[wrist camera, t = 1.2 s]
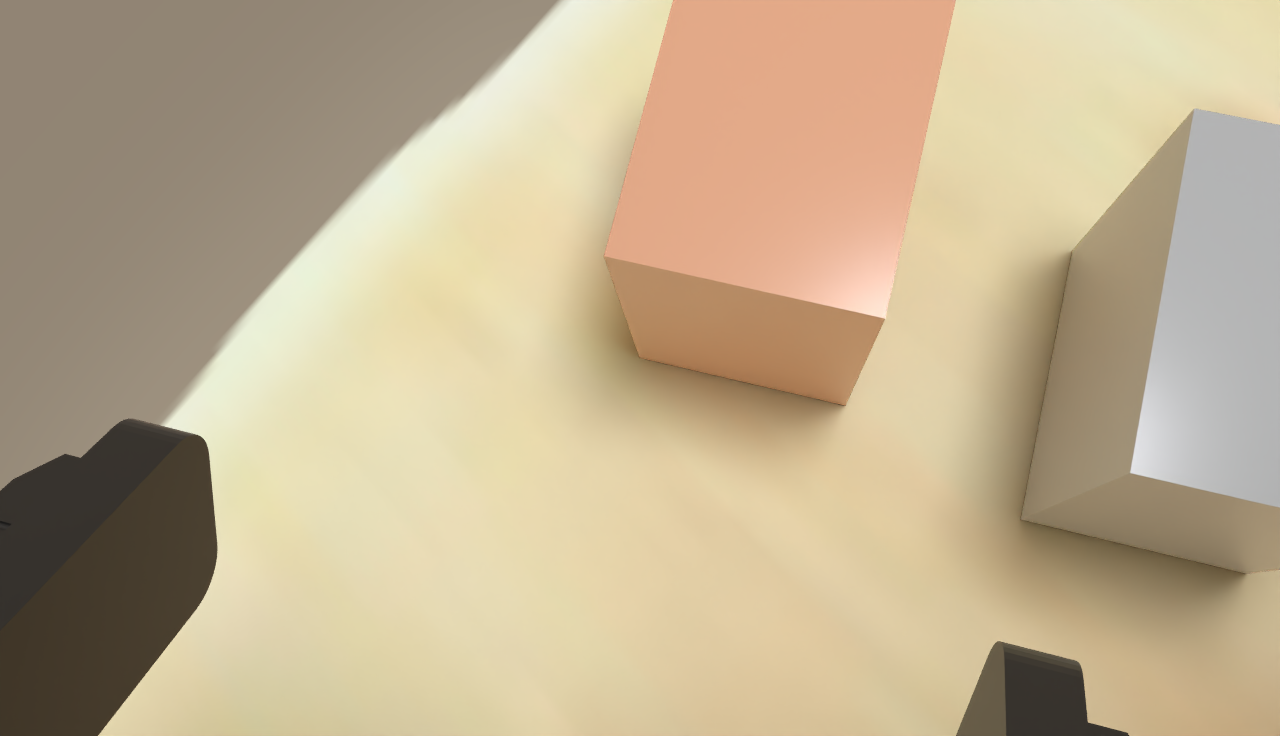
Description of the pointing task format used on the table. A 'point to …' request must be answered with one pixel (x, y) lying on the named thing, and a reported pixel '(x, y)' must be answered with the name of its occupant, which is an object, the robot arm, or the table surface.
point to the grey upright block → (1173, 359)
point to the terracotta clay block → (775, 185)
